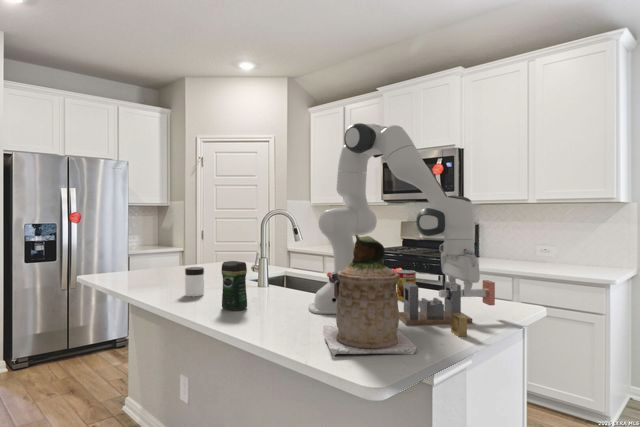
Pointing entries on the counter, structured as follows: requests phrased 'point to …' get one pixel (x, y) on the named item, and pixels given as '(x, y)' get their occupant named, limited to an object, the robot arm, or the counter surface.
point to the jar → (194, 281)
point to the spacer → (459, 324)
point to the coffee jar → (234, 285)
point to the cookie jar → (367, 306)
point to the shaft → (477, 292)
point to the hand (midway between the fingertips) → (459, 293)
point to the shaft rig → (430, 307)
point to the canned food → (404, 281)
